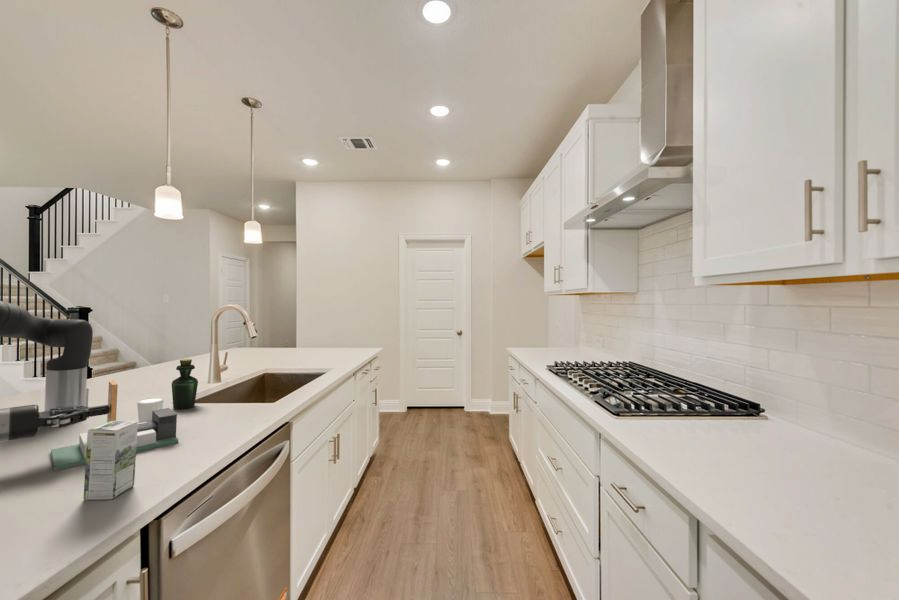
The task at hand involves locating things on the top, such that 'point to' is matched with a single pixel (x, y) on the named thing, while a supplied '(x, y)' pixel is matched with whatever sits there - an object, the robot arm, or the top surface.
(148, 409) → the white cup
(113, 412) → the wooden l-shaped piece
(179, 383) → the potion bottle
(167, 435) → the heatsink board
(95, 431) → the syrup box
